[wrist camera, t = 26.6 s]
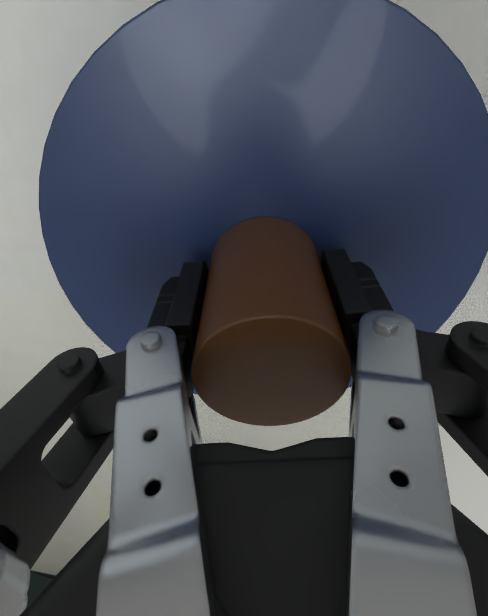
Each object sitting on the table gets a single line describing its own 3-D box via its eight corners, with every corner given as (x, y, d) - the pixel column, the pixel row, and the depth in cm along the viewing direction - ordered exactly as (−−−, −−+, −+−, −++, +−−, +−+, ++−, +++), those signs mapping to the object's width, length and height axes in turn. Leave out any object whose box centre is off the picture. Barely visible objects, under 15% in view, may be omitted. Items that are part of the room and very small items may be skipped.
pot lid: (567, -68, 9) (1068, -245, 3) (429, 377, 18) (502, 513, 13) (-45, 22, 10) (-387, -3, 5) (128, 394, 19) (83, 525, 14)
